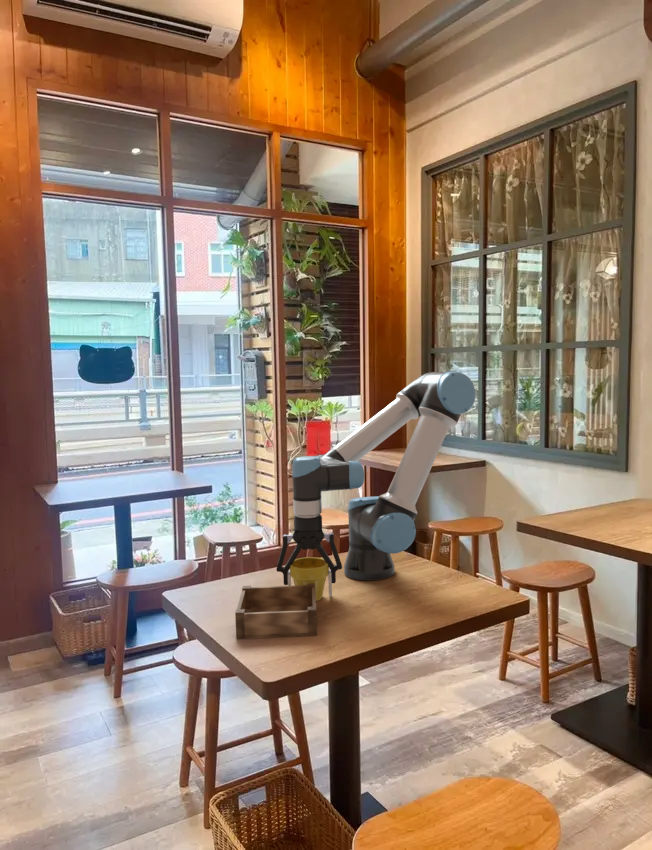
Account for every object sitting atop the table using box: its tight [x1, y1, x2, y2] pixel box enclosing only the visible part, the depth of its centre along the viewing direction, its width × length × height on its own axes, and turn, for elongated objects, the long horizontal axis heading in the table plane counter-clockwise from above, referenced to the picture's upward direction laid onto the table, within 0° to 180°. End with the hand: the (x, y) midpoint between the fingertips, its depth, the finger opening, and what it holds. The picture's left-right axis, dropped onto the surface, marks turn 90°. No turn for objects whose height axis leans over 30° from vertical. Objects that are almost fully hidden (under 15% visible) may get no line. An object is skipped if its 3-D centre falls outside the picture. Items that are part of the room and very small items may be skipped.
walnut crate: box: [234, 583, 318, 640], centre depth 158 cm, size 19×19×6 cm
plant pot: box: [289, 556, 330, 602], centre depth 174 cm, size 10×10×10 cm
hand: (310, 595), depth 174 cm, fingers closed on plant pot, 10 cm apart
